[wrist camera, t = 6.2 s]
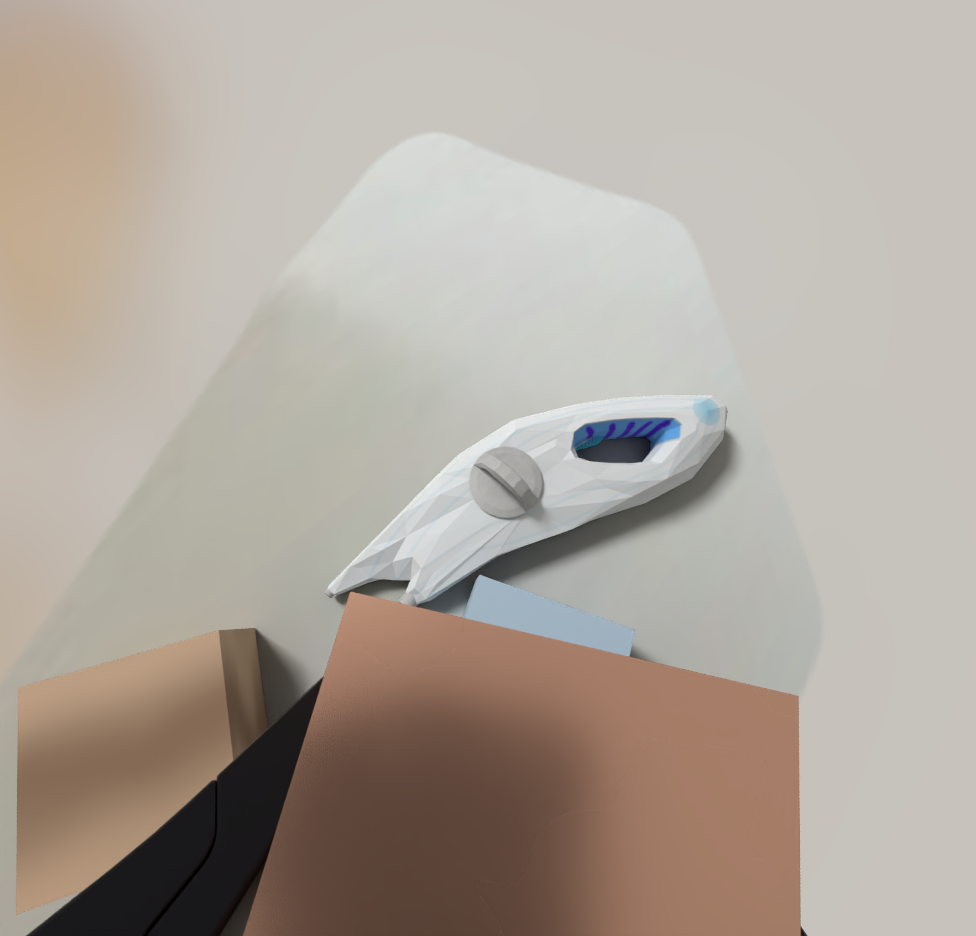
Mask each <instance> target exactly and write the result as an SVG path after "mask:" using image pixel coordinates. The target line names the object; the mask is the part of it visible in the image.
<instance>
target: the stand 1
mask: <svg viewBox="0 0 976 936" xmlns="http://www.w3.org/2000/svg"><path fill="white" fill-rule="evenodd" d="M267 728H268V723H267V715H266V708H265V700H264V693H263V685H262V678H261V670H260V663H259V655H258V648H257V640H256V633H255V628H248V629H234V630H219V631H215V632H212V633H208V634H205V635H201V636H198V637H194V638H191V639H187V640H184V641H180V642H177V643H173V644H170V645H166V646H163V647H159V648H156V649H152V650H149V651H145V652H142V653H138V654H135V655H131V656H128V657H124V658H121V659H117V660H114V661H110V662H107V663H103V664H100V665H96V666H93V667H89V668H86V669H82V670H79V671H75V672H72V673H68V674H65V675H61V676H58V677H54V678H51V679H47V680H44V681H40V682H37V683H33V684H30V685H26V686H23V687H19V688H18V765H17V875H16V915H17V914H20V913H22V912H25V911H28V910H31V909H33V908H36V907H39V906H42V905H45V904H47V903H50V902H53V901H56V900H58V899H61V898H64V897H67V896H70V895H72V894H75V893H78V892H81V891H83V890H84V889H86V888H87V887H88V886H89V885H91V884H92V883H93V882H94V881H96V880H97V879H98V878H99V877H101V876H102V875H103V874H105V873H106V872H107V871H108V870H109V869H111V868H112V867H113V866H114V865H116V864H117V863H118V862H119V861H120V860H122V859H123V858H124V857H125V856H126V855H128V854H129V853H130V852H131V851H133V850H134V849H135V848H136V847H137V846H139V845H140V844H141V843H142V842H144V841H145V840H146V839H147V838H148V837H150V836H151V835H152V834H153V833H154V832H155V831H157V830H158V829H159V828H160V827H161V826H162V825H163V824H164V823H165V822H167V821H168V820H169V819H170V818H171V817H172V816H173V815H174V814H176V813H177V812H178V811H179V810H180V809H181V808H182V807H183V806H185V805H186V804H187V803H188V802H189V801H190V800H191V799H192V798H193V797H194V796H195V795H196V794H198V793H199V792H200V791H201V790H202V789H203V788H204V787H205V786H206V785H207V784H208V783H209V782H210V781H212V780H216V778H217V775H218V774H219V773H220V772H221V771H222V770H223V769H225V768H226V767H227V766H228V765H229V764H230V763H231V762H232V761H233V760H234V759H235V758H236V757H237V756H238V755H240V754H241V753H242V752H243V751H244V750H245V749H246V748H247V747H248V746H249V745H250V744H251V743H252V742H253V741H255V740H256V739H257V738H258V737H259V736H260V735H261V734H262V733H263V732H264V731H265V730H266V729H267Z"/></svg>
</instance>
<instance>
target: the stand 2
mask: <svg viewBox="0 0 976 936" xmlns="http://www.w3.org/2000/svg"><path fill="white" fill-rule="evenodd" d="M463 618H466V619H470V620H475V621H479V622H483V623H487V624H492V625H496V626H500V627H505V628H509V629H513V630H517V631H522V632H526V633H530V634H535V635H539V636H543V637H547V638H552V639H556V640H560V641H565V642H569V643H573V644H577V645H582V646H586V647H590V648H594V649H599V650H603V651H607V652H612V653H616V654H620V655H624V656H629V657H630V652H631V647H632V642H633V638H634V633H635V630H634V629H631V628H628V627H626V626H623V625H620V624H617V623H614V622H612V621H609V620H606V619H603V618H600V617H598V616H595V615H592V614H589V613H586V612H583V611H581V610H578V609H575V608H572V607H569V606H567V605H564V604H561V603H558V602H555V601H552V600H550V599H547V598H544V597H541V596H538V595H536V594H533V593H530V592H527V591H524V590H521V589H519V588H516V587H513V586H510V585H507V584H505V583H502V582H499V581H496V580H493V579H490V578H488V577H485V576H482V575H479V576H478V578H477V579H476V580H475V582H474V585H473V588H472V591H471V594H470V597H469V600H468V603H467V606H466V609H465V612H464V615H463Z"/></svg>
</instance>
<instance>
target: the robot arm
mask: <svg viewBox="0 0 976 936" xmlns="http://www.w3.org/2000/svg"><path fill="white" fill-rule="evenodd" d="M323 678H324V676H323V677H322V678H321V679H320V680H319V681H318V682H317V683H316V684H314V685H313V686H312V687H311V688H310V689H309V690H308V691H307V692H306V693H305V694H304V695H303V696H302V697H301V698H300V699H298V700H297V701H296V702H295V703H294V704H293V705H292V706H291V707H290V708H289V709H288V710H287V711H286V712H285V713H283V714H282V715H281V716H280V717H279V718H278V719H277V720H276V721H275V722H274V723H273V724H272V725H271V726H270V727H268V728H267V729H266V730H265V731H264V732H263V733H262V734H261V735H260V736H259V737H258V738H257V739H256V740H255V741H253V742H252V743H251V744H250V745H249V746H248V747H247V748H246V749H245V750H244V751H243V752H242V753H241V754H240V755H238V756H237V757H236V758H235V759H234V760H233V761H232V762H231V763H230V764H229V765H228V766H227V767H226V768H225V769H223V770H222V771H221V772H220V773H219V774H218V775H217V778H216V780H212V781H210V782H209V783H208V784H207V785H206V786H205V787H204V788H203V789H202V790H201V791H200V792H199V793H198V794H196V795H195V796H194V797H193V798H192V799H191V800H190V801H189V802H188V803H187V804H186V805H185V806H183V807H182V808H181V809H180V810H179V811H178V812H177V813H176V814H174V815H173V816H172V817H171V818H170V819H169V820H168V821H167V822H165V823H164V824H163V825H162V826H161V827H160V828H159V829H158V830H157V831H155V832H154V833H153V834H152V835H151V836H150V837H148V838H147V839H146V840H145V841H144V842H142V843H141V844H140V845H139V846H137V847H136V848H135V849H134V850H133V851H131V852H130V853H129V854H128V855H126V856H125V857H124V858H123V859H122V860H120V861H119V862H118V863H117V864H116V865H114V866H113V867H112V868H111V869H109V870H108V871H107V872H106V873H105V874H103V875H102V876H101V877H99V878H98V879H97V880H96V881H94V882H93V883H92V884H91V885H89V886H88V887H87V888H86V889H84V890H83V891H82V892H81V893H79V894H78V895H77V896H76V897H74V898H73V899H72V900H71V901H69V902H68V903H67V904H65V905H64V906H63V907H62V908H60V909H59V910H58V911H57V912H55V913H54V914H53V915H52V916H50V917H49V918H48V919H47V920H45V921H44V922H43V923H42V924H40V925H39V926H38V927H37V928H35V929H34V930H33V931H32V932H30V933H29V934H28V935H26V936H243V934H244V931H245V928H246V925H247V922H248V918H249V915H250V912H251V909H252V906H253V902H254V899H255V896H256V893H257V890H258V886H259V883H260V880H261V877H262V873H263V870H264V867H265V864H266V861H267V857H268V854H269V851H270V848H271V845H272V841H273V838H274V835H275V832H276V829H277V825H278V822H279V819H280V816H281V812H282V809H283V806H284V803H285V800H286V796H287V793H288V790H289V787H290V784H291V780H292V777H293V774H294V771H295V768H296V764H297V761H298V758H299V755H300V751H301V748H302V745H303V742H304V739H305V735H306V732H307V729H308V726H309V723H310V719H311V716H312V713H313V710H314V707H315V703H316V700H317V697H318V694H319V690H320V687H321V684H322V681H323ZM800 927H801V926H800ZM801 936H807V935H806V933H805V932H804V930H803V929H802V927H801Z"/></svg>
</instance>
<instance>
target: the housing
mask: <svg viewBox="0 0 976 936" xmlns="http://www.w3.org/2000/svg"><path fill="white" fill-rule="evenodd" d="M799 816H800V815H799V701H798V696H796V695H791V694H787V693H783V692H779V691H774V690H770V689H766V688H761V687H757V686H753V685H749V684H744V683H740V682H736V681H731V680H727V679H723V678H719V677H714V676H710V675H706V674H702V673H697V672H693V671H689V670H684V669H680V668H676V667H672V666H667V665H663V664H659V663H654V662H650V661H646V660H642V659H637V658H633V657H629V656H624V655H620V654H616V653H612V652H607V651H603V650H599V649H594V648H590V647H586V646H582V645H577V644H573V643H569V642H565V641H560V640H556V639H552V638H547V637H543V636H539V635H535V634H530V633H526V632H522V631H517V630H513V629H509V628H505V627H500V626H496V625H492V624H487V623H483V622H479V621H475V620H470V619H466V618H462V617H457V616H453V615H449V614H445V613H440V612H436V611H432V610H428V609H423V608H419V607H415V606H410V605H406V604H402V603H398V602H393V601H389V600H385V599H380V598H376V597H372V596H368V595H363V594H359V593H355V592H350V594H349V597H348V601H347V604H346V607H345V610H344V613H343V617H342V620H341V623H340V626H339V629H338V633H337V636H336V639H335V642H334V646H333V649H332V652H331V655H330V658H329V662H328V665H327V668H326V671H325V674H324V678H323V681H322V684H321V687H320V690H319V694H318V697H317V700H316V703H315V707H314V710H313V713H312V716H311V719H310V723H309V726H308V729H307V732H306V735H305V739H304V742H303V745H302V748H301V751H300V755H299V758H298V761H297V764H296V768H295V771H294V774H293V777H292V780H291V784H290V787H289V790H288V793H287V796H286V800H285V803H284V806H283V809H282V812H281V816H280V819H279V822H278V825H277V829H276V832H275V835H274V838H273V841H272V845H271V848H270V851H269V854H268V857H267V861H266V864H265V867H264V870H263V873H262V877H261V880H260V883H259V886H258V890H257V893H256V896H255V899H254V902H253V906H252V909H251V912H250V915H249V918H248V922H247V925H246V928H245V931H244V934H243V936H801V927H800V818H799Z"/></svg>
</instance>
